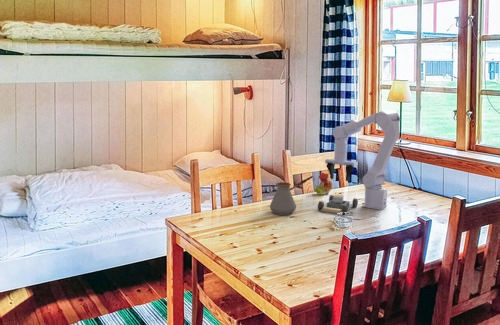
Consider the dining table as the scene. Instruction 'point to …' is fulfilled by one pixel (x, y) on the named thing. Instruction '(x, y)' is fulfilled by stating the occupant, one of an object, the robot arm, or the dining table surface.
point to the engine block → (338, 199)
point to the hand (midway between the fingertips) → (339, 179)
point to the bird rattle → (326, 182)
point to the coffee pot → (284, 198)
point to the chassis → (336, 206)
